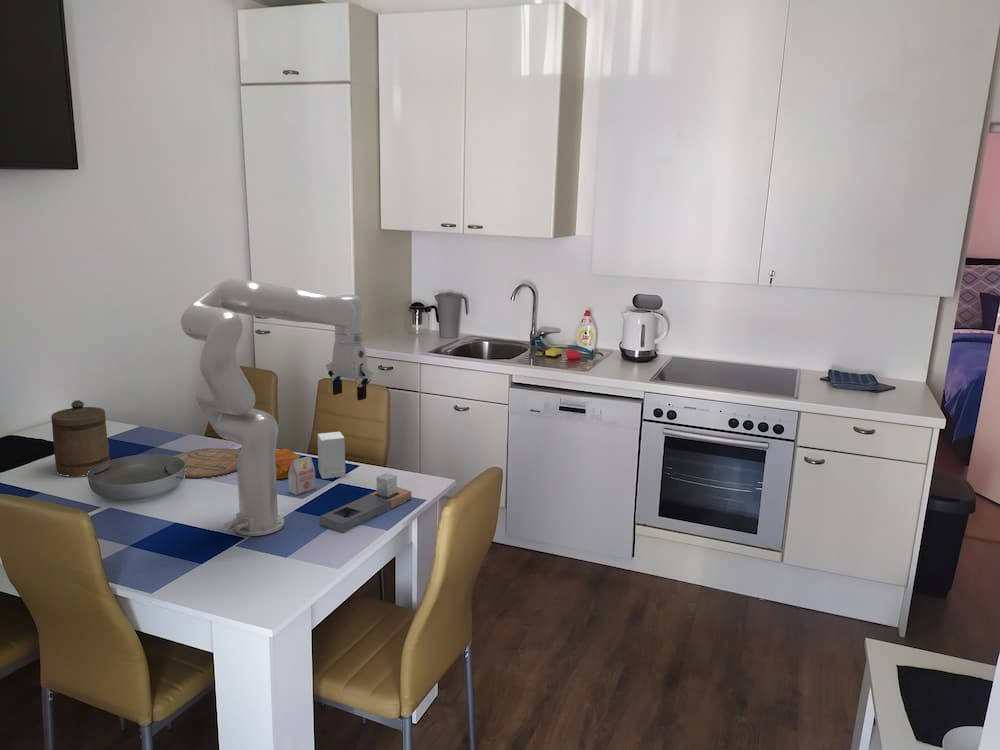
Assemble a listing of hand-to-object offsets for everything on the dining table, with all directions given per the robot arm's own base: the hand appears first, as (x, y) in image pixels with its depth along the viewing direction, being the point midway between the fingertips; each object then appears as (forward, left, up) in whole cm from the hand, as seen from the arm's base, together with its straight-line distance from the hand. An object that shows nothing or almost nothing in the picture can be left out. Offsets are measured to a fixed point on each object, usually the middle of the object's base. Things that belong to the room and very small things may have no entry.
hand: (349, 396), depth 223 cm
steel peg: (-2, -16, -28) cm, 32 cm away
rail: (-10, -16, -28) cm, 34 cm away
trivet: (-13, +50, -29) cm, 59 cm away
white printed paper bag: (-10, +10, -28) cm, 32 cm away
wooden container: (-38, +77, -29) cm, 91 cm away
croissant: (-4, +27, -29) cm, 40 cm away
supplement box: (+5, +13, -28) cm, 32 cm away
